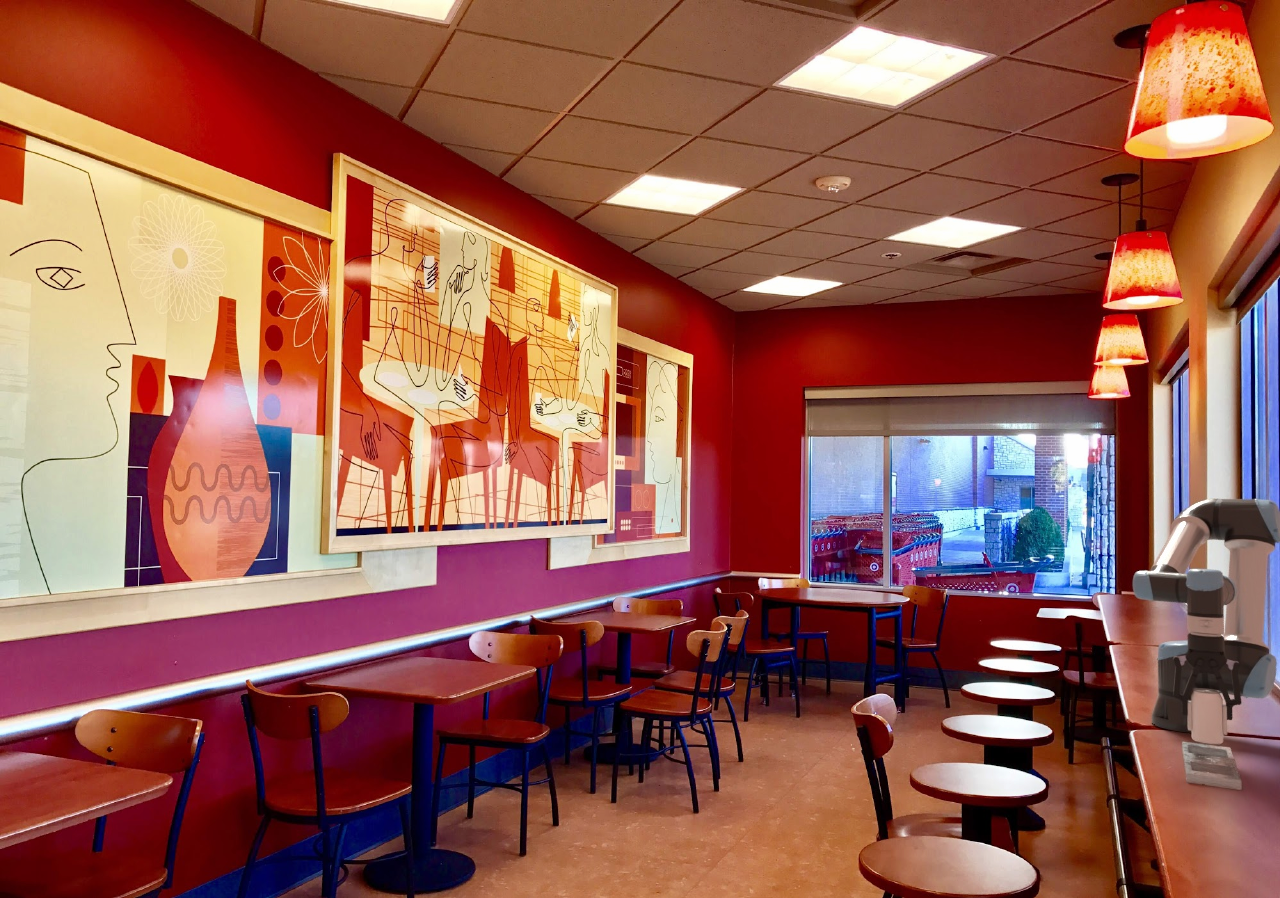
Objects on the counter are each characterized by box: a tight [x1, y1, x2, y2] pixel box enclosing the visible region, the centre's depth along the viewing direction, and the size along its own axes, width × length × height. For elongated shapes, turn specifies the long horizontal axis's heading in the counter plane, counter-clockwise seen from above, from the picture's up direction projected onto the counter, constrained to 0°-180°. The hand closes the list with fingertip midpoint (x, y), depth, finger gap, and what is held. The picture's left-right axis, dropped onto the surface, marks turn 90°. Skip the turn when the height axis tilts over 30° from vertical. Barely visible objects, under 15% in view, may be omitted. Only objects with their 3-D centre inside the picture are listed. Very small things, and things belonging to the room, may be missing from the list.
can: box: [1190, 688, 1224, 746], centre depth 217 cm, size 6×6×12 cm
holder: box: [1181, 741, 1242, 791], centre depth 209 cm, size 30×10×2 cm, turn 151°
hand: (1207, 731), depth 216 cm, fingers closed on can, 6 cm apart
